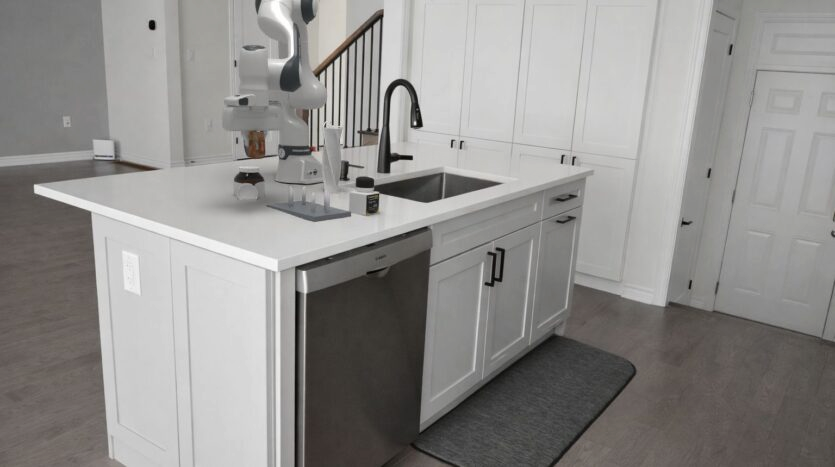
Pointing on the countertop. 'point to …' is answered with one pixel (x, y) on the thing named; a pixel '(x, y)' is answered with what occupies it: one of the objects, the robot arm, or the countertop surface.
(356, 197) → the medicine bottle
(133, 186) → the countertop surface
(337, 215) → the pin tray
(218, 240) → the countertop surface
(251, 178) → the spread jar
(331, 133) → the skyscraper
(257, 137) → the tin
